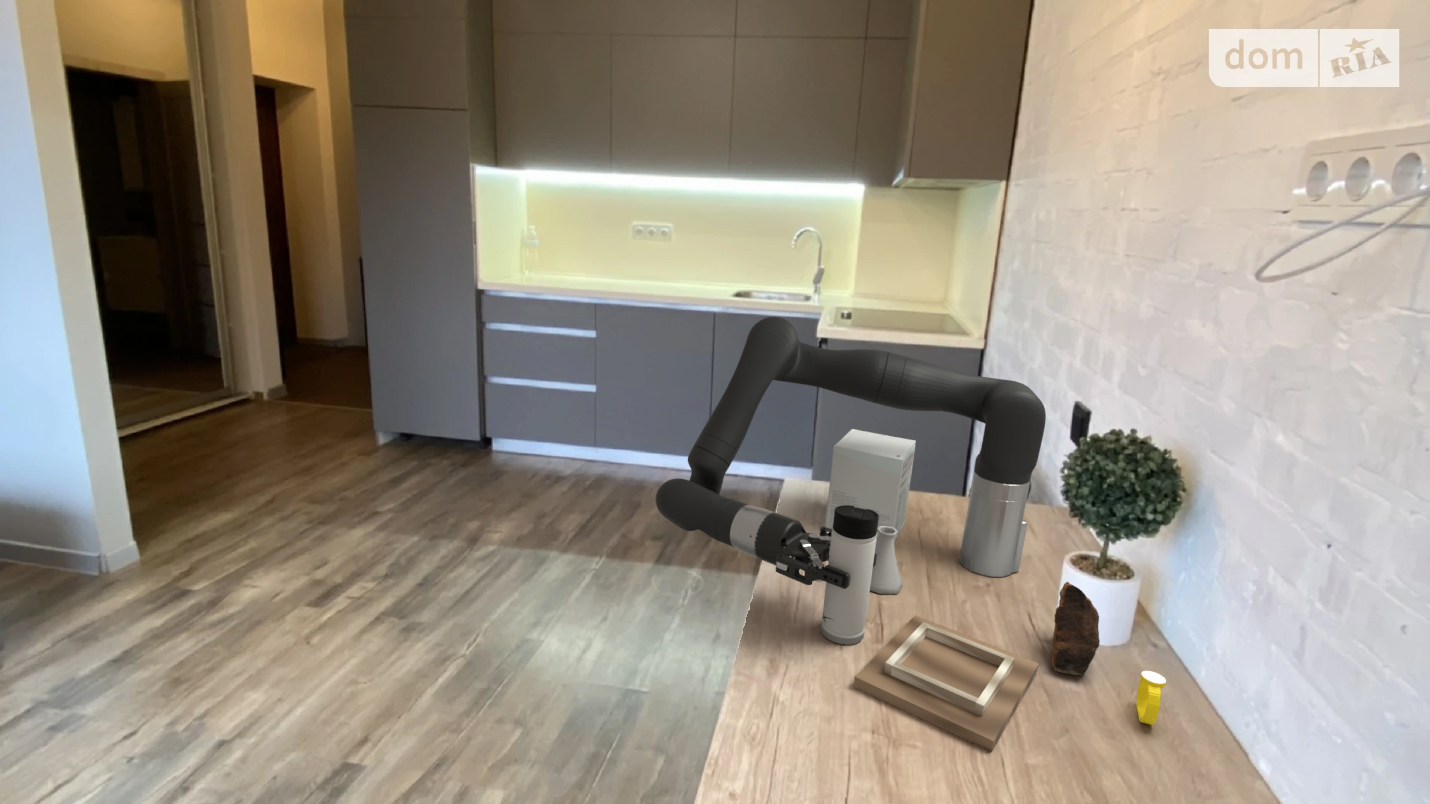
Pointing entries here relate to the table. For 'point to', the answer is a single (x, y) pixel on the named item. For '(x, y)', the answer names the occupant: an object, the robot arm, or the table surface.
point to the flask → (885, 564)
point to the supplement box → (871, 476)
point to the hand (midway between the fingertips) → (862, 571)
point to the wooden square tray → (949, 680)
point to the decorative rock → (1074, 632)
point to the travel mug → (855, 557)
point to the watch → (1149, 696)
